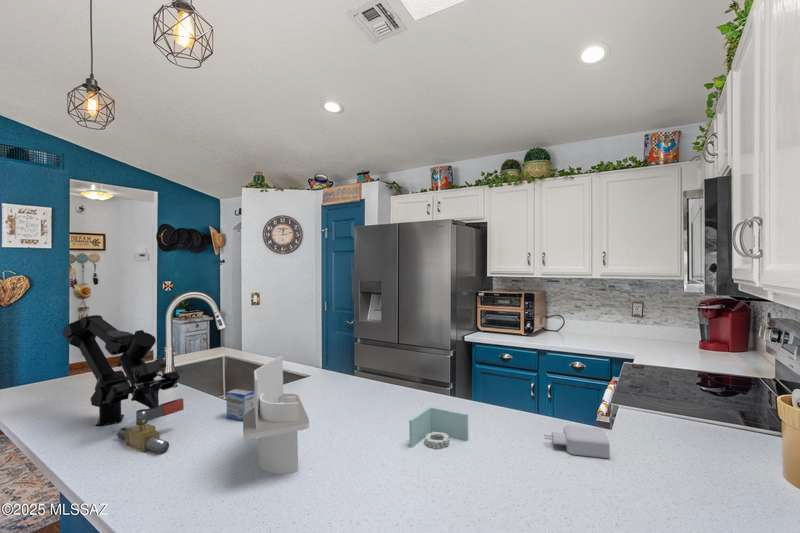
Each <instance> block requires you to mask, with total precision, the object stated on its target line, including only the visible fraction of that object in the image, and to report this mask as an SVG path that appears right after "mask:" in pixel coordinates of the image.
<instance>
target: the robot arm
mask: <svg viewBox="0 0 800 533" xmlns="http://www.w3.org/2000/svg"><path fill="white" fill-rule="evenodd" d="M62 336H63V338H65V340H66V342H68V344H69V345H71V346H73V347H76V348H78V349H79V350H80V353H81V354H82V355H83V358H84V360H85V362H86V363H87V365H88V367H89V368H90V370H91V372H92V373H93V375H94V378H95V379H96V383H95V386H94V392H93V394H92V395H91V397H90V404H91V406H94V407H97V408H98V411H99V412H98V413H99V415H98V416H99V417H98V418H99V419H98V420H97V422H96V424H95V426H96V427H99V426H104V425H105V426H106V425H112V424H117V423H118V424H119V423H121V422H122V421H123V419H124V417H125V414H122V401H124V400H129V396H130V395H131V398H130V400H131V402H134V401H135V402H137V403H139V404H142V405H144V406H145V407H147V408H148V409H149V408H152V407H156V406H159V405H160V402H159V393H160V392H159V391H160V390H163V391H165V390H168V389H172V388H173V387H175V385H176V384H177V382H178V381H179V379H180V378H181V375H180V374H179V372H178V371H177V370H172V371H168V372H164V373H162V376H161V377H160V378H158V379H155V378H157V377H158V373H159V372H162V371H163V369H165V368H166V367H167V363H166V360H165V359H164V358H163V357H160V358H156V359H155V360H154V361H149V362H146V361H145V359H144V358H145V357H147V356H148V354H149V353H150V352H151V351H152V349H153V347H154V345H155V344H156V341H157V340H156V337H155V336H154V335H152V334H151V333H148V332H146V331H144V329H140V330H136V331H135V332H134V333H131V332H128V331H122V330H119V329H117V328H116V327H114V326H113V325H111V324H110V323H109V322H107V321H106V320H105V319H104V318H103V316H102V315H98V314H96V315H95V314H94V315H87V316H86V315H85V316H83V317H81V318H80V319H78V320H76V321H73V322H71V323H67V325H66V326H65V327H63V329H62ZM96 338H99V339H100V340H101V341H103V342H104V343H105V345H104V348H105V350H106V351H107V352H108V353H109V354H110V355H111V356H116V355H120V357H119V358H118V361H117V364H116V366H117V367H119V368H120V367H121V368H122V369H120V370H117V371H116V370H114V369H113V367H112V365H111V364H110V362H109V360H108V359H107V357H106V356H105V354H104V351H103V350H102V349H101V346H100V345H99V343H98V342H97V340H96Z"/></svg>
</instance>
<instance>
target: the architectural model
mask: <svg viewBox="0 0 800 533" xmlns="http://www.w3.org/2000/svg"><path fill="white" fill-rule="evenodd" d="M283 360H284V357H283V355H279V356H278V357H276V358H274V359H271V360H270V361H268V362H267V363H265V364H263V365H262V366H260V367H257V368H256V369H254V370H253V381H254V382H253V384H254V385H253V386H254V387H253V390H254V408H253V409H251V410H250V411H249V412H248V413H246V414H245V415H244V416H243V421H242V422H243V423H242V424H243V427H242V430H243V433H242V434H243V440H248V441H249V440H255V439H256V440H257V453H258V454H257V457H258V459H257V460H258V466H259V468H260V469H261V470H262V471H263V472H266V473H270V474H276V475H286V474H293V473H299V456H298V455H299V452H298V451H299V448H298V445H299V444H298V441H299V440H298V437H299V436H298V431H304V430H307V429H309V428H310V419H309V417H308V413H307V412H306V410H305V407H304V405H303V403H302V401H301V399H300V396H299V395H297V394H296V393H284V371H283V370H284V368H283V367H284V366H283V365H284V364H283V363H284V362H283Z"/></svg>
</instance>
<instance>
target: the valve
mask: <svg viewBox="0 0 800 533" xmlns="http://www.w3.org/2000/svg"><path fill="white" fill-rule="evenodd" d="M116 436H117V438H118V439H120V440H121V441H125V446H126V447H129V448H132V449H135V450H136V451H139V452H143V453H147V452H149V451H152V452H153V453H157V454H159V455H163V454H165V453H166V452H168V450H169V449H170V442H169V441H168V440H165V439H162V438H160V431H158V430H157V427H156V425H153V424H149V423H146V424H144V425H136V424H135V425H132V426H130V427H128V426H123V427H121V428H120V429H119V430H118V431H117V433H116Z"/></svg>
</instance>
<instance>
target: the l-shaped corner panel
mask: <svg viewBox="0 0 800 533" xmlns="http://www.w3.org/2000/svg"><path fill="white" fill-rule="evenodd" d="M408 423H409V429H408V431H409V432H408V433H409V448H414V447H416V445H418V444H419V443H420V442H422V441H423V440H424V444H425V446H426V447H428V448H432V449H433V450H437V449H438V450H439V449H445V448H448V446H450V442H451V440H450V438H453V439H455V440H456V439H457V440H461V441H466V442H468V441H469V414H468V413H466V412H460V411H458V410H457V411H456V410H450V409H446V408H442V407H441V408H440V407H437V406H433V405H432V406H431V405H429V406H428V407H426V408H425V409H423V410H422V411H420V412H419V413H418V414H416V415H414V416H413V417H411V418H410V419H409V420H408Z"/></svg>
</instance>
